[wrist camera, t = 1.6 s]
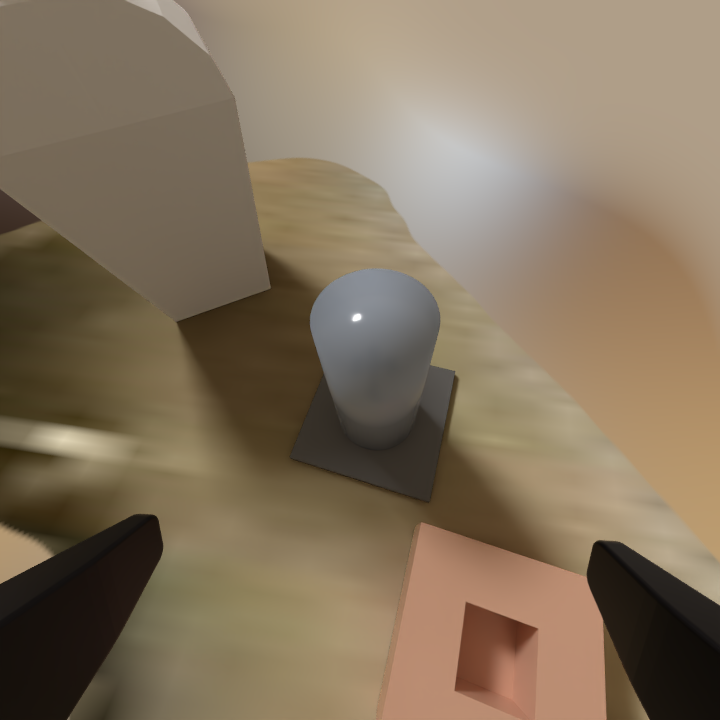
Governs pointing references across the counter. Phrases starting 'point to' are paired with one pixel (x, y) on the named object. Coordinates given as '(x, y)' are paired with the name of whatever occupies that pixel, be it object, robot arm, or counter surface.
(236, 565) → the counter surface
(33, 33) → the soap bottle
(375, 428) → the grey domed cylinder
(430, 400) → the mat
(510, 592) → the salmon flat square slab
